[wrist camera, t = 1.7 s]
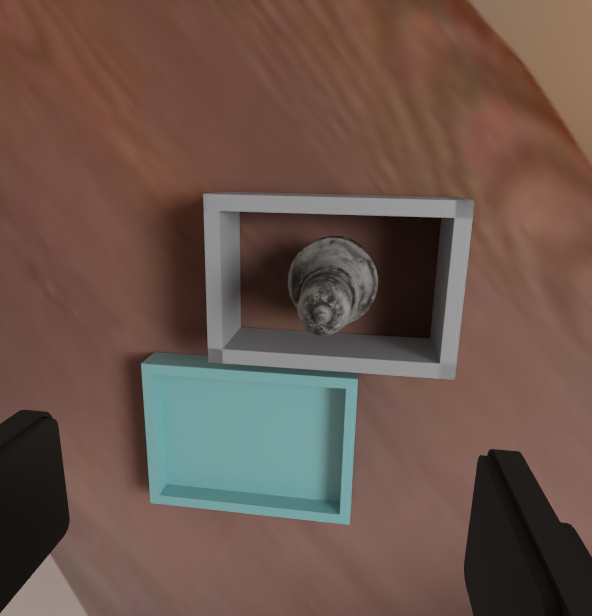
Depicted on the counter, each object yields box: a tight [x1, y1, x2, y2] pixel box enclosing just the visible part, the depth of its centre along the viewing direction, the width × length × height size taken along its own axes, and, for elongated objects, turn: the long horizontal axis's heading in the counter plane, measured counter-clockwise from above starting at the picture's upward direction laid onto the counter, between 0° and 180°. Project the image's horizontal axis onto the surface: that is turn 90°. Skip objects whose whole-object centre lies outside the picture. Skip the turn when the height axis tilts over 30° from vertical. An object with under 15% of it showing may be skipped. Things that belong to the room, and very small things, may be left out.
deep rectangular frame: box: [203, 192, 474, 380], centre depth 33 cm, size 16×11×5 cm
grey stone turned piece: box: [288, 236, 378, 336], centre depth 29 cm, size 6×6×12 cm
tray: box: [141, 352, 358, 525], centre depth 38 cm, size 16×12×2 cm
